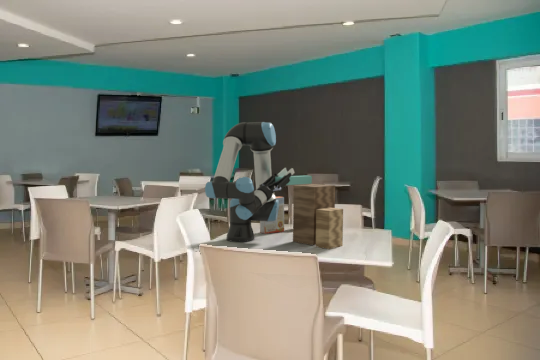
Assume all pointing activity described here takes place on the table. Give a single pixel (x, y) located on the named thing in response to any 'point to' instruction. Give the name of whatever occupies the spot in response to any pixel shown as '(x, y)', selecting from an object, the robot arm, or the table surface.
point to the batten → (297, 180)
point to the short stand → (329, 228)
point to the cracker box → (274, 225)
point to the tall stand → (309, 209)
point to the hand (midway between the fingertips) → (289, 170)
